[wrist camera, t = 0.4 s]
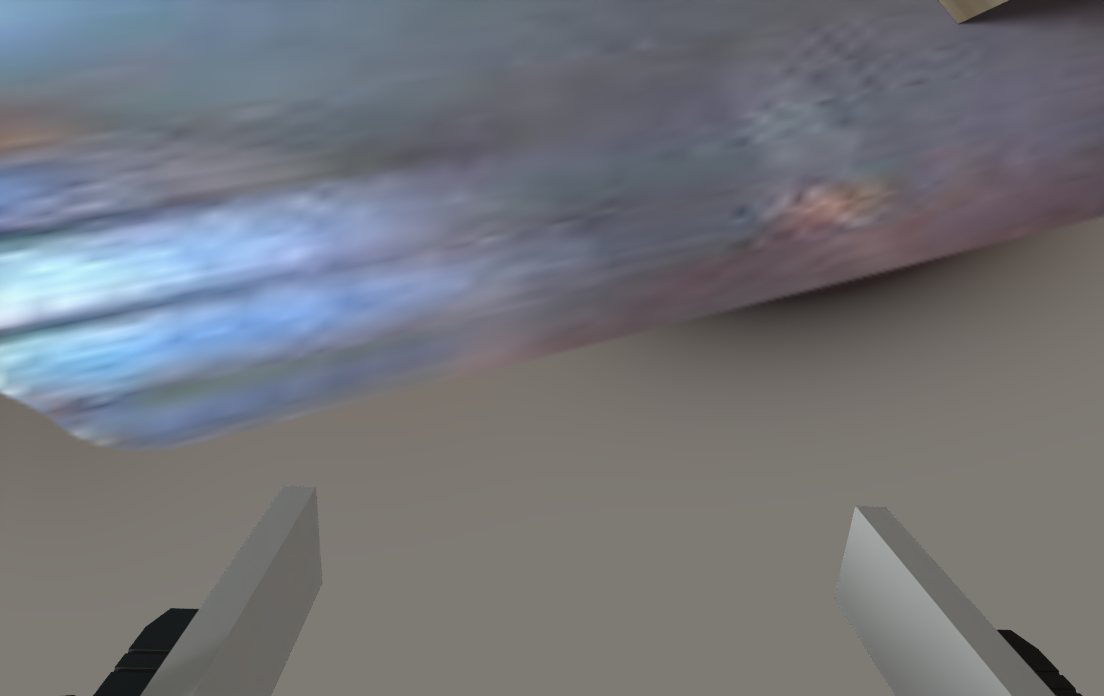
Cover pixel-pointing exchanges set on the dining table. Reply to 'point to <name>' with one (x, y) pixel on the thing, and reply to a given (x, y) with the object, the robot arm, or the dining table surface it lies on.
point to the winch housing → (968, 7)
